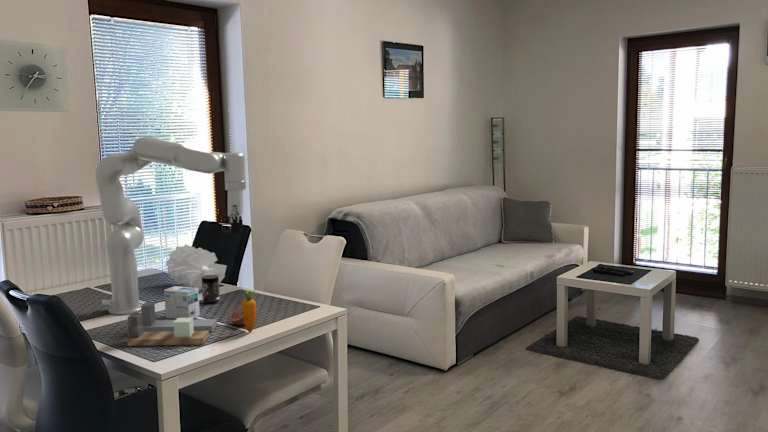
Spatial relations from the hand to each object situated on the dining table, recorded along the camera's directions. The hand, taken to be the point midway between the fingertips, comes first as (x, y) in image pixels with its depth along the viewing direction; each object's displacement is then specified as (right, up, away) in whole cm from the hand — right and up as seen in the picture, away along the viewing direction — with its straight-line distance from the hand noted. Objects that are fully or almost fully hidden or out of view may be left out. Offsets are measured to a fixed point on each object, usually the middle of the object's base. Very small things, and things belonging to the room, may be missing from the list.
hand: (237, 231), depth 246 cm
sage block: (-10, -33, -32) cm, 47 cm away
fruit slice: (+4, -33, -15) cm, 36 cm away
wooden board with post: (-15, -35, -32) cm, 50 cm away
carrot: (+10, -34, -23) cm, 42 cm away
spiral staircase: (-27, -26, +40) cm, 54 cm away
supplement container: (-14, -29, +15) cm, 36 cm away
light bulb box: (-19, -32, -5) cm, 37 cm away
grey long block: (-16, -34, -19) cm, 42 cm away
